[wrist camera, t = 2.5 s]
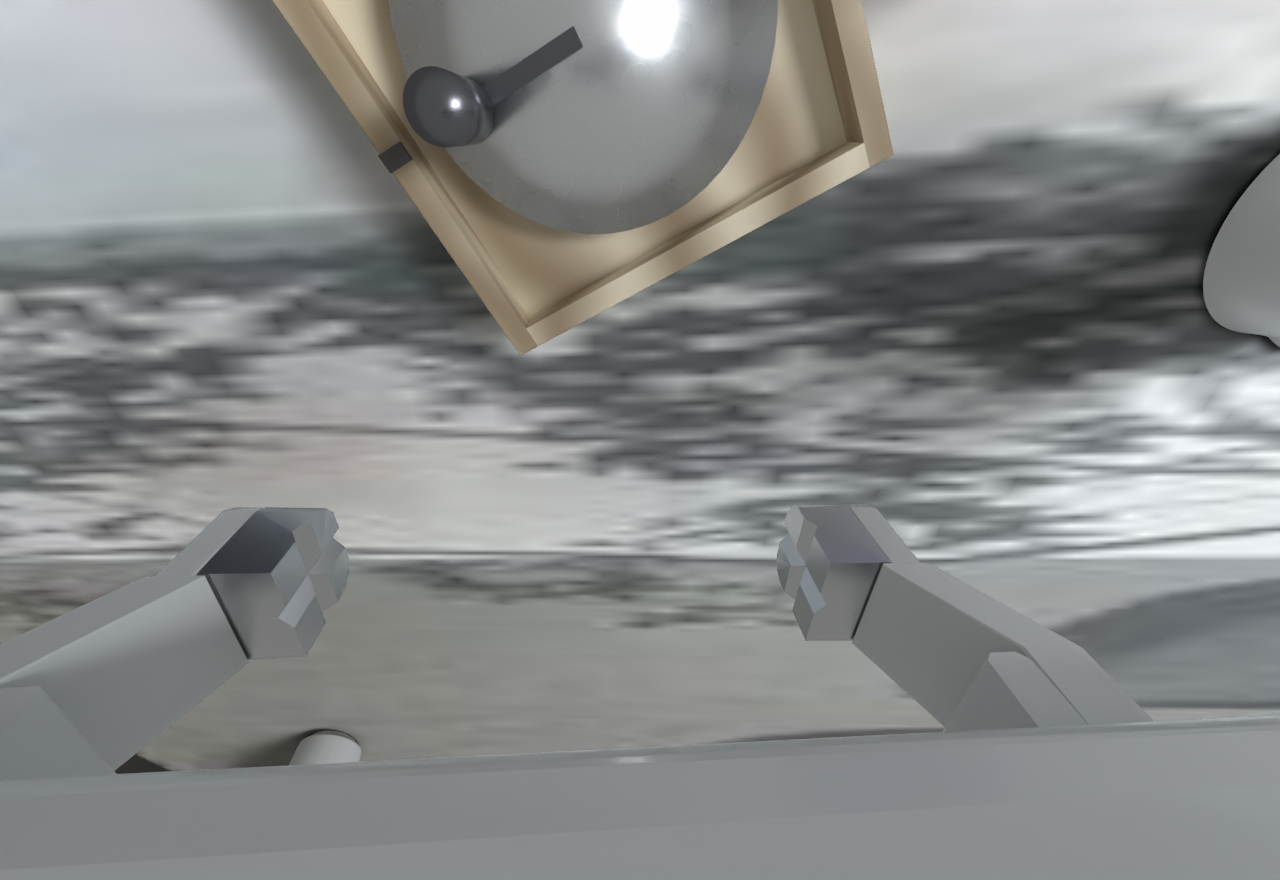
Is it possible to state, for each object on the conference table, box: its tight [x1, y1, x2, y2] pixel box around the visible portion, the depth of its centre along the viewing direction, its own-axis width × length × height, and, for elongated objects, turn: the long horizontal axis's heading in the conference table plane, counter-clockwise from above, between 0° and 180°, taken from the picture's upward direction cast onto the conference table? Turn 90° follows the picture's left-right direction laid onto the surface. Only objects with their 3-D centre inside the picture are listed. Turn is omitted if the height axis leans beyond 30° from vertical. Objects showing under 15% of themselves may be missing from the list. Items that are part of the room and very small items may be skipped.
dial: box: [389, 0, 778, 234], centre depth 21 cm, size 17×17×6 cm
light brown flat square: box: [273, 0, 893, 356], centre depth 23 cm, size 22×22×4 cm
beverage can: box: [289, 731, 361, 765], centre depth 50 cm, size 6×6×12 cm
